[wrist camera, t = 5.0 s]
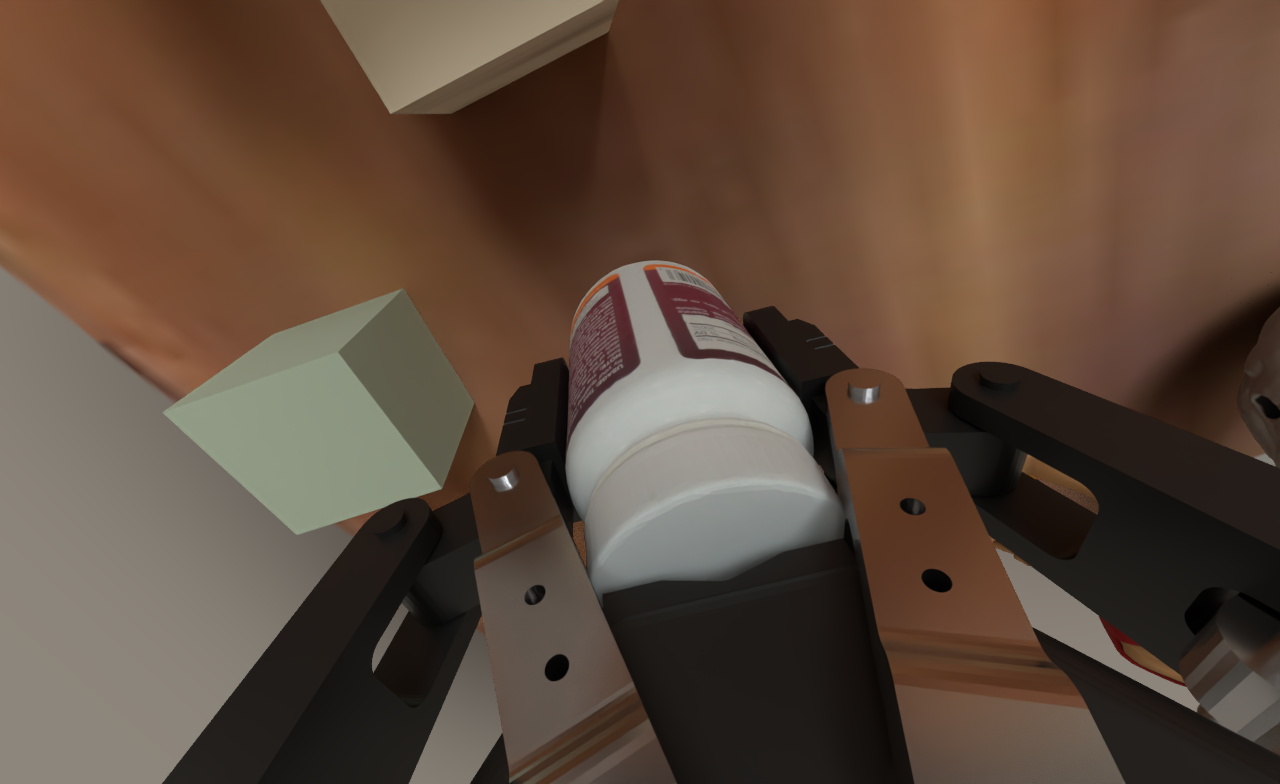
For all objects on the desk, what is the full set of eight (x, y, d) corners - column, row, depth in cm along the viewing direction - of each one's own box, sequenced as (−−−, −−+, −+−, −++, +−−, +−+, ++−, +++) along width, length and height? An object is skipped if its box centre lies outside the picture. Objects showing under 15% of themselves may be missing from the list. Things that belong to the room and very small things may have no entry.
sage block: (274, 333, 16) (162, 412, 12) (404, 287, 16) (337, 352, 11) (362, 439, 19) (296, 535, 14) (474, 401, 18) (442, 488, 14)
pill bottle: (603, 419, 15) (623, 697, 8) (543, 290, 12) (496, 530, 5) (741, 374, 15) (888, 623, 8) (709, 231, 12) (885, 408, 5)
